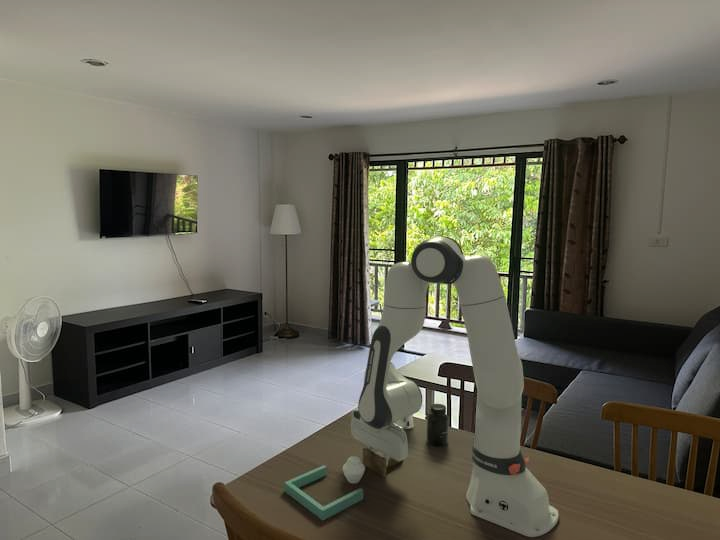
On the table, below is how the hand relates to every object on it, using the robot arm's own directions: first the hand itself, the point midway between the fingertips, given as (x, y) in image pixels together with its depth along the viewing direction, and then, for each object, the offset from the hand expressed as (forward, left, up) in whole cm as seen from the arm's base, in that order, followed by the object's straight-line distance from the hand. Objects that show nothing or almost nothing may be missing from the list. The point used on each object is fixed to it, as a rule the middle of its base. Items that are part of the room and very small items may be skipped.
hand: (378, 462), depth 140 cm
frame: (0, +19, -2) cm, 20 cm away
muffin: (0, +9, -2) cm, 10 cm away
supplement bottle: (-1, -26, -2) cm, 26 cm away
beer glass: (+14, -27, -2) cm, 30 cm away
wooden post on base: (0, -4, -2) cm, 4 cm away
